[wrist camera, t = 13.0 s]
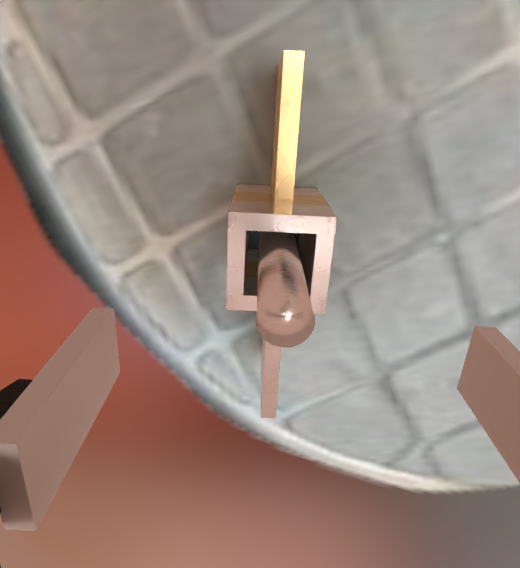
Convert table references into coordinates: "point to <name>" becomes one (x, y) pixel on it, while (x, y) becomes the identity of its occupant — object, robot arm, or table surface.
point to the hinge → (280, 222)
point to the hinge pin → (282, 291)
